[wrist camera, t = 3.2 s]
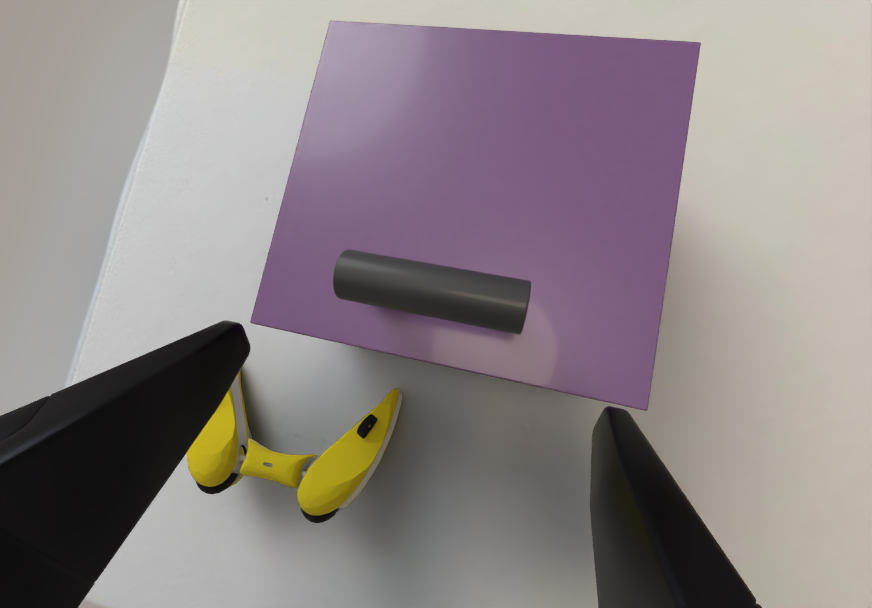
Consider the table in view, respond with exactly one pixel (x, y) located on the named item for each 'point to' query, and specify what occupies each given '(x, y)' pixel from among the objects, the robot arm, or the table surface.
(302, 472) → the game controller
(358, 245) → the lid
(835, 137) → the table surface
